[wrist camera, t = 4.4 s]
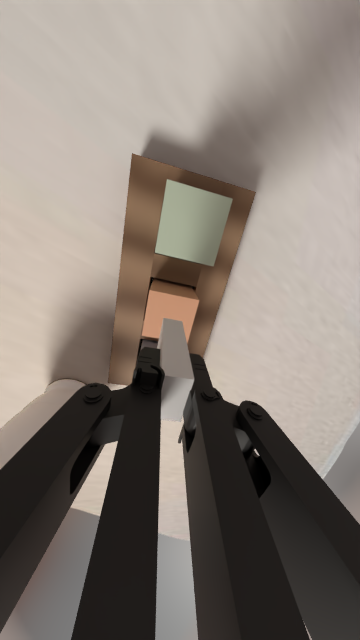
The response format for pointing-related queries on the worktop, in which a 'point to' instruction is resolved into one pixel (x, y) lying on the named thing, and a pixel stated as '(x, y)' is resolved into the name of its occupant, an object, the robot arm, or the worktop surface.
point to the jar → (34, 417)
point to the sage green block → (191, 223)
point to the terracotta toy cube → (169, 306)
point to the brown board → (167, 260)
